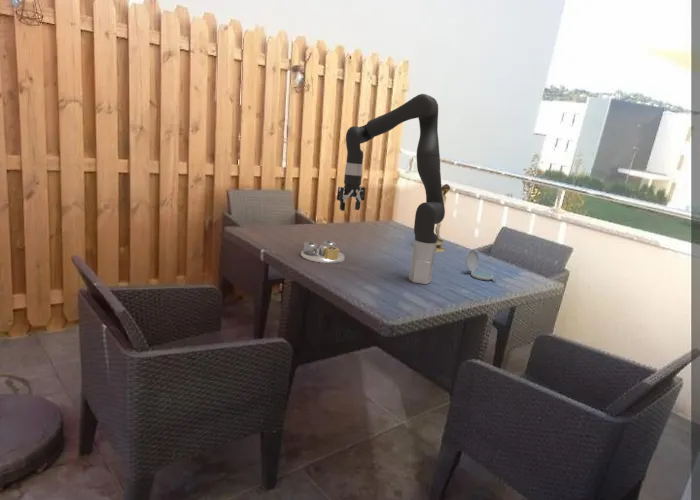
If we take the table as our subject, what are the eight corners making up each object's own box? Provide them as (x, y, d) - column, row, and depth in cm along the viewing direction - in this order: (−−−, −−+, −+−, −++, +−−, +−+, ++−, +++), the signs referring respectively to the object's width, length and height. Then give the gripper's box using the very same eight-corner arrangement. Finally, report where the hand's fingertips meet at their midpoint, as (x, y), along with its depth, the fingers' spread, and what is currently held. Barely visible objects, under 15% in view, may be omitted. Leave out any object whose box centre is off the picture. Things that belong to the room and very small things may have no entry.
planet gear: (336, 260, 208) (337, 250, 207) (323, 258, 209) (324, 249, 208) (338, 257, 214) (339, 247, 213) (325, 255, 215) (326, 245, 213)
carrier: (341, 265, 206) (342, 251, 204) (296, 259, 207) (297, 245, 206) (346, 254, 225) (348, 241, 223) (305, 248, 227) (306, 235, 225)
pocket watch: (477, 248, 218) (506, 257, 208) (473, 271, 221) (501, 281, 210) (465, 250, 212) (493, 260, 201) (460, 273, 215) (489, 284, 204)
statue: (443, 254, 246) (454, 187, 237) (410, 248, 251) (420, 182, 242) (447, 247, 262) (457, 184, 253) (416, 241, 267) (426, 179, 257)
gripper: (359, 172, 213) (356, 208, 217) (335, 172, 204) (332, 209, 208) (371, 175, 208) (367, 211, 212) (346, 174, 199) (342, 212, 203)
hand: (349, 210), depth 210 cm, fingers open, 8 cm apart
